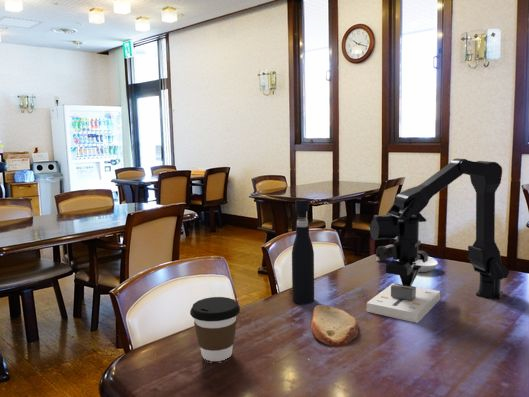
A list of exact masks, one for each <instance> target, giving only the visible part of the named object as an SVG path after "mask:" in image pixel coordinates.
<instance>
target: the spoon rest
mask: <svg viewBox="0 0 529 397" xmlns="http://www.w3.org/2000/svg"><path fill="white" fill-rule="evenodd" d="M390 245H391V244H388V246H390ZM384 246H385V245H384ZM386 246H387V245H386ZM386 246H385V247H386ZM375 257H376V258H375V261H376V262H381V261H380V260H379V258H378V257H377V256H375ZM415 263H416V265H418V266H421V268H420V270H419V272H418V273H427V272H430V271H433V270H434V269H435V268H437V266H438V265H439V262H438V261H437V260H436V259H434V258H433V257H431V256H428V261H427V262H425V263H424V262H423V261H422V260H417V261H416V262H415Z"/></svg>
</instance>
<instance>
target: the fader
mask: <svg viewBox="0 0 529 397" xmlns="http://www.w3.org/2000/svg"><path fill="white" fill-rule="evenodd" d="M394 283H395V282H394ZM392 284H393V283H392ZM416 287H417V286H407V285H402V283H401V284H399V283H395V284H393V285H392V286H391V297H396V298H401V299H406V300H411V301H412V300H413V299H414V298H416Z"/></svg>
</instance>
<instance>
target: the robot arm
mask: <svg viewBox="0 0 529 397" xmlns="http://www.w3.org/2000/svg"><path fill="white" fill-rule="evenodd" d="M462 175H468V176H469V179H470V183H471V185H472V187H473V189H474V191H475V210H476V211H475V241H474V243H473V244H472V245H468V246H467V251H468V255H467V259H468V260H469V263H470V264H471V266H472V267H473V270H474V272H477V273H479V280H478V283H479V284H478V285H479V286H478V289H477V291H476V292H475V296H479V297H483V298H491V299H495V300H496V299H497V300H500V299H501V298H502V297H503V294H504V291H502V290H501V288H502V287H501V286H502V280H504V279H507V278H508V277H509V274H510V270H509V269H508V268H507V267H506V266H505V265H504V263H502V258H501V256H502V255H501V251H500V249H499V247H498V245H497V243H496V240H495V236H496V234H495V230H496V227H495V223H496V220H495V219H496V216H495V215H496V211H495V210H496V192H497V190H498V188H499V186H500V185H501V183H502V177H503V167H502V165H500V164H499V162H497V161H487V160H477V161H473V160H468V159H466V158H459V157H458V158H454V159H451V161H450V162H449V163H448V164H447V165H445V166H444V167H443V168H441V169H440V170H438V171H437V172H435V173H434V174H432V175H431V176H430V177H428V178H427V179H425V181H423V182H422V183H421V184H419V185H417V186H416V185H415V186H414V187H411V188H408V189H406V190H403V191H401V192H400V193H398V194H397V195H395V198H394V202H393V204H392V206H391V207H390V208H389V210H388V211H387V213H386V214H385V215H381V214H380V215H379V214H375V215H373V219H372V220H371V222H370V225H369V233H370V234H369V235H370V236H371V238H372V239H373V241H382V240H394V239H396V240H395V241H393V244H389V245H390V246H389V245H386V247H385V245H382V246H378V247H377V248H376V250H375V257H378V258H379V260H380V261H379V262H381V261H384V260H386V259H391V258H392V260H391V261H389V262H387V263H386V264H385V265H384V273H385V274H390V275H395V276H399V277H400V281H401V285H407V286H412V285H413V283H414V282H415V279H416V278H417V276H418V273H420V272H419V270H420V268H421V266H418V265H416V263H415V262H416V261H417V260H422V261H423V262H424V263H425V262H427V261H428V257H429V254H428V253H427V252H426V251H425V250H419V245H421V243H422V242H421V240H419V232H420V230H419V229H420V226H419V225H420V223H423V222H427V219H426V217H424V216H423V215H422V213H421V212H422V211H423V210H424V209H425V208H426V207H427V206H428V204H429V202H430V200H431V199H432V198H433V197H434V196H435V195H437V194H439V193H440V192H441V191H442V190H444V189H445V188H446V187H448V186H449V185H450V184H452V182H455V180H457V179H458V178H460V177H462Z"/></svg>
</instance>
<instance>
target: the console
mask: <svg viewBox="0 0 529 397" xmlns="http://www.w3.org/2000/svg"><path fill="white" fill-rule="evenodd" d="M393 284H395V282H393V283H391V284H390V285H389V286H387V287H386V288H384V289H383V290H382V291H381V292H379V293H378V294H377V295H375V296H373V297H372V298H371V299H370V300H368V301H367V302H366V310H365V311H366V312H367V313H370V314H375V315H376V314H377V315H381V316H385V317H390V318H394V319H398V320H403V321H407V322H411V323H417V324H418V323H419V322H420V321H421V320H423V318H424V317H425V316H426V315H427V314H428V313H429V312H430V311H431V310H432V309H433V308H434V306H436V304H437V303H438V302H439V301H440V300H441V291H440V290H435V289H430V288H429V289H428V288H423V287H418V286H415V287H416V298H414V299H413V300H412V301H411V300H406V299H401V298H396V297H391V286H392V285H393Z"/></svg>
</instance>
